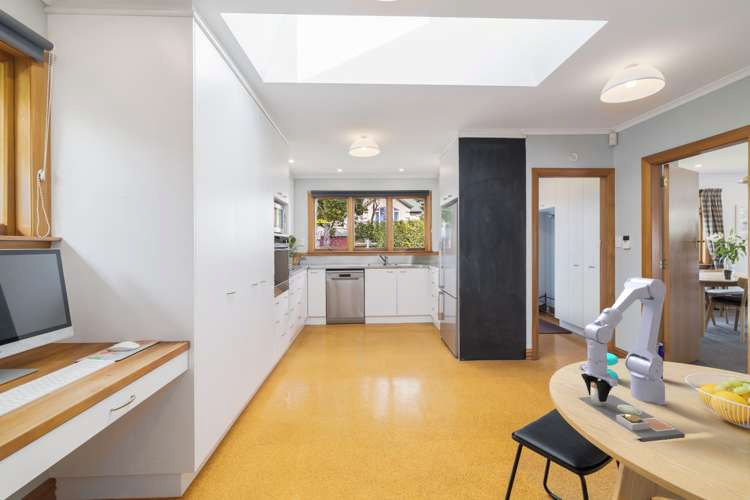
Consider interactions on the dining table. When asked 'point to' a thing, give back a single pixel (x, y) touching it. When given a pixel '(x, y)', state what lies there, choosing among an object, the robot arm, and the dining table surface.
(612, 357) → the donuts
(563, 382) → the dining table surface
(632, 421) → the button
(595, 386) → the white cylinder
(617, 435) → the dining table surface
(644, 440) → the board
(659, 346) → the beverage can
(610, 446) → the dining table surface
